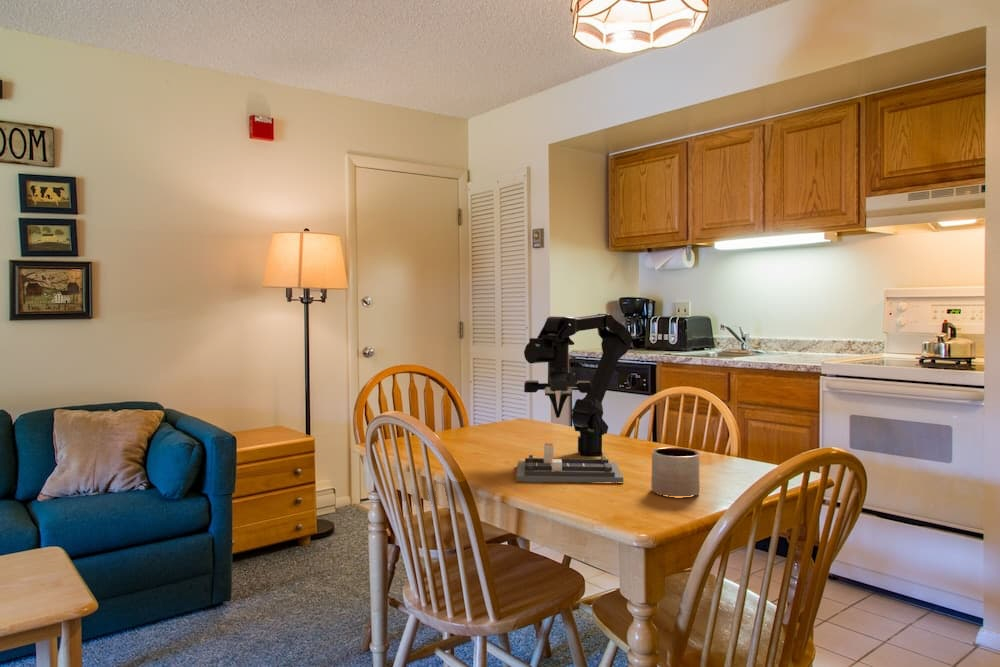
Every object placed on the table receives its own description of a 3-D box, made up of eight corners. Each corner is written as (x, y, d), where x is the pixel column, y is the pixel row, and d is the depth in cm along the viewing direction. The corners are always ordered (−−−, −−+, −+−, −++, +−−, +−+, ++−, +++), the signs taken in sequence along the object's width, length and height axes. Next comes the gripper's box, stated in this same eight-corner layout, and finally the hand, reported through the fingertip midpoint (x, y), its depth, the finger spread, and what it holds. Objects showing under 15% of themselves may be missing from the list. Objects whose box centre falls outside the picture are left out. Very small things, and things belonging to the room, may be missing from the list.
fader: (552, 462, 180) (552, 442, 179) (553, 465, 176) (553, 445, 176) (543, 462, 180) (543, 442, 179) (544, 465, 176) (544, 445, 176)
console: (615, 467, 181) (615, 451, 181) (623, 483, 165) (623, 465, 165) (517, 466, 182) (517, 449, 182) (516, 482, 166) (516, 463, 166)
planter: (653, 498, 153) (653, 456, 153) (649, 485, 164) (649, 446, 163) (702, 500, 152) (703, 457, 151) (695, 487, 162) (696, 447, 162)
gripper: (524, 364, 181) (524, 422, 182) (594, 364, 180) (594, 422, 181) (524, 360, 192) (524, 415, 193) (590, 361, 191) (590, 416, 192)
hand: (557, 417), depth 189 cm, fingers closed
